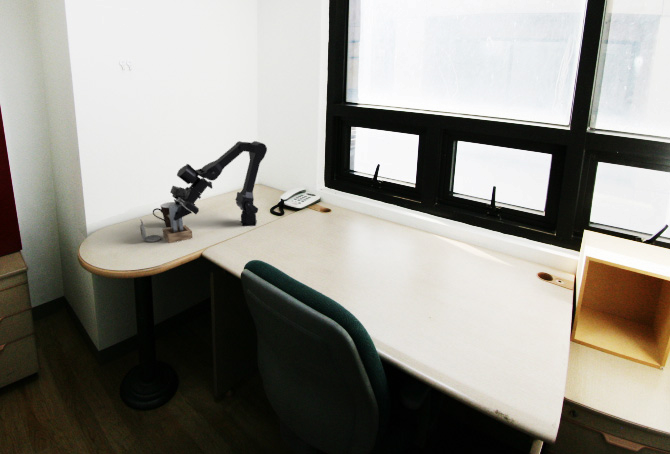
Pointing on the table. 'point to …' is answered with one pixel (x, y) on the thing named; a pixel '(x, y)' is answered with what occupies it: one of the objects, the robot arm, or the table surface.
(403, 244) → the table surface
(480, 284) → the table surface
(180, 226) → the tall gray prism
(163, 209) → the coffee mug
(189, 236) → the open wooden box
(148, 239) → the pocket watch
